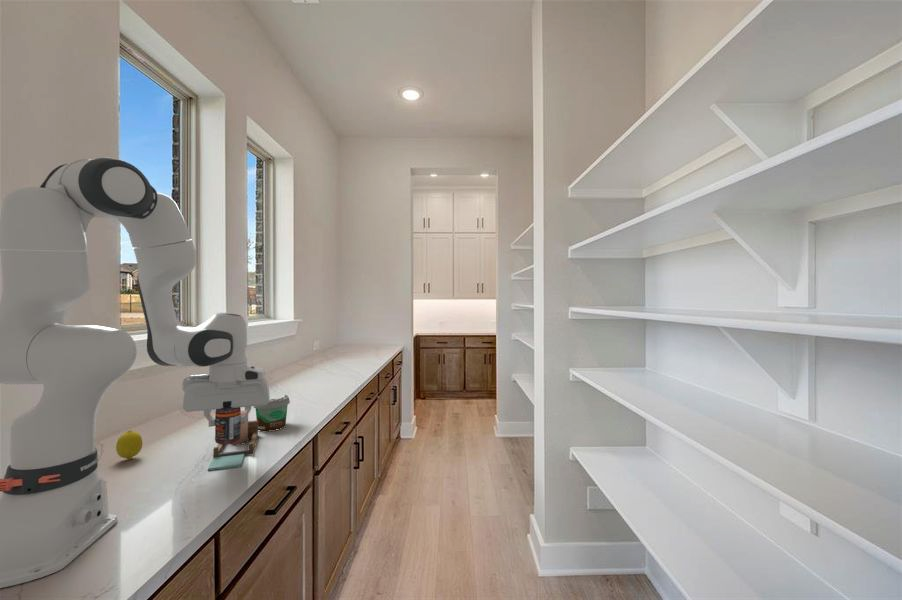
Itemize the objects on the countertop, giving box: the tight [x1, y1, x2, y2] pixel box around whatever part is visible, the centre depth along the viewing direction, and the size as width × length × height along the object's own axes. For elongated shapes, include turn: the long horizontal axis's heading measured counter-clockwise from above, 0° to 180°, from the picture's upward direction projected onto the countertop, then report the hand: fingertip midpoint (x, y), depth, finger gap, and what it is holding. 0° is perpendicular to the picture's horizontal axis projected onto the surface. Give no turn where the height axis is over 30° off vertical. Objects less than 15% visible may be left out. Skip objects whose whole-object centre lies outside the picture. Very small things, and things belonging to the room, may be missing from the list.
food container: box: [253, 394, 291, 432], centre depth 133 cm, size 12×6×10 cm, turn 148°
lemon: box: [115, 429, 143, 460], centre depth 106 cm, size 6×6×8 cm
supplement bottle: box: [214, 401, 242, 445], centre depth 105 cm, size 6×6×11 cm
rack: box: [212, 419, 259, 459], centre depth 116 cm, size 16×10×5 cm, turn 22°
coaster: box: [207, 454, 245, 472], centre depth 104 cm, size 8×8×1 cm
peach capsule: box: [229, 410, 249, 446], centre depth 120 cm, size 5×5×9 cm
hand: (228, 424), depth 105 cm, fingers closed on supplement bottle, 6 cm apart
